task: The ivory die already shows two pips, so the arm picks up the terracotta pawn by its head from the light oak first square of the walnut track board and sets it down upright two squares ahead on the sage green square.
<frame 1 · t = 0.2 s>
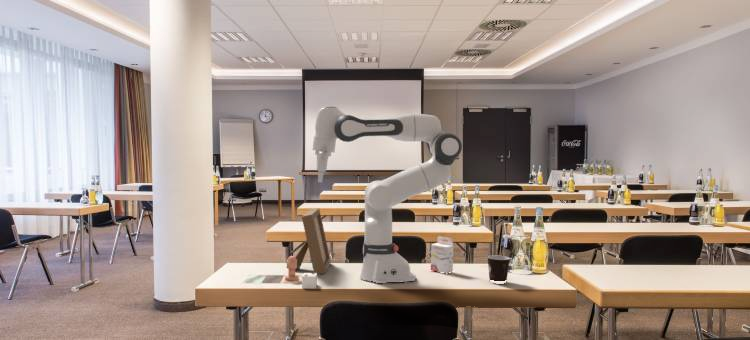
hand: (319, 181, 199), 39 cm above the table, tool pointing down, fingers open, 8 cm apart
ink cartridge box: (441, 272, 214), on the table
photo frame: (310, 269, 214), on the table
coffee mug: (497, 283, 197), on the table
track board: (273, 280, 195), on the table
die: (309, 288, 186), on the table
pawn: (291, 279, 195), resting on track board
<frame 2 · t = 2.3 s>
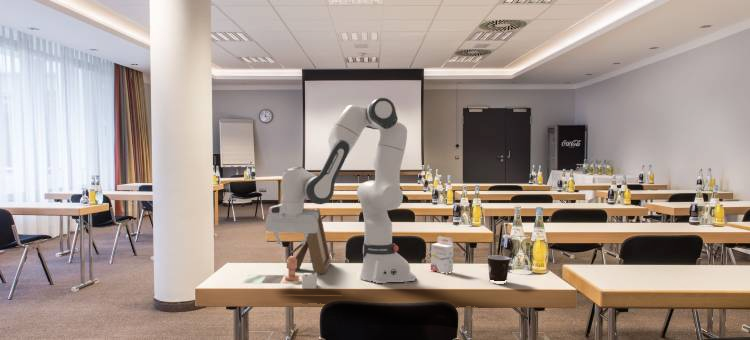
hand: (290, 243, 194), 14 cm above the table, tool pointing down, fingers open, 8 cm apart
nothing on the table moved.
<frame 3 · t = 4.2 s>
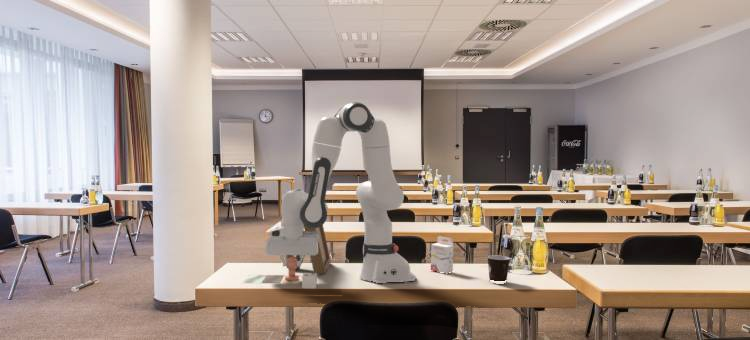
hand: (291, 266, 195), 6 cm above the table, tool pointing down, fingers closed on pawn, 4 cm apart
pawn: (291, 279, 195), point 1 cm above the table, touching gripper, track board
everything else where it was.
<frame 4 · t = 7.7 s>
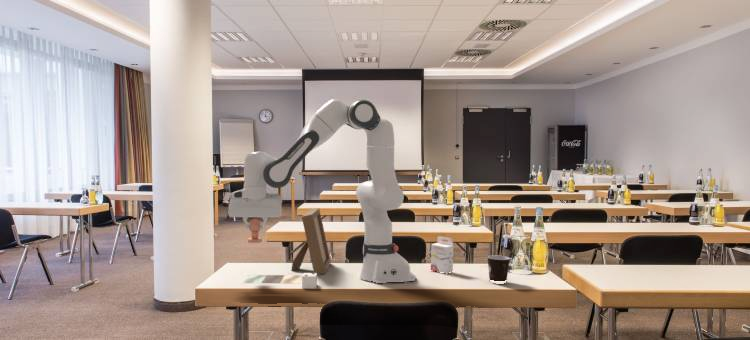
hand: (255, 228, 194), 20 cm above the table, tool pointing down, fingers closed on pawn, 4 cm apart
pawn: (254, 241, 194), point 15 cm above the table, touching gripper
everything else where it was.
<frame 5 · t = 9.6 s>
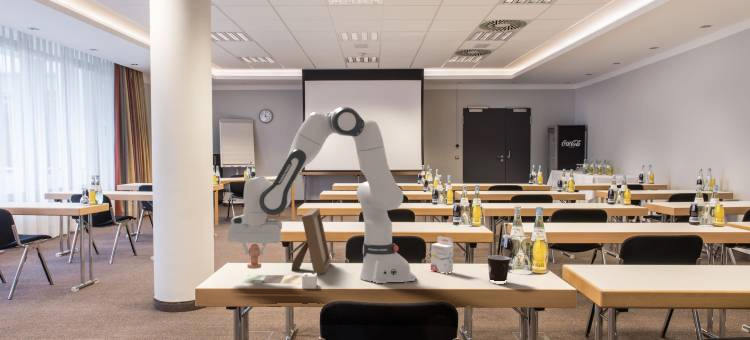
hand: (254, 254, 194), 10 cm above the table, tool pointing down, fingers closed on pawn, 4 cm apart
pawn: (254, 267, 194), point 5 cm above the table, touching gripper
everything else where it was.
when the fingers open (7 cm above the table, at t = 11.3 s): pawn drops 1 cm, resting on track board.
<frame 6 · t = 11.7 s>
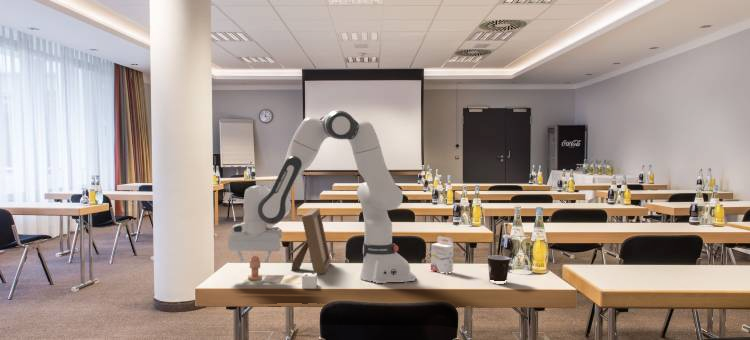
hand: (254, 262, 194), 7 cm above the table, tool pointing down, fingers open, 8 cm apart
pawn: (254, 278, 194), point 1 cm above the table, touching track board
everything else where it was.
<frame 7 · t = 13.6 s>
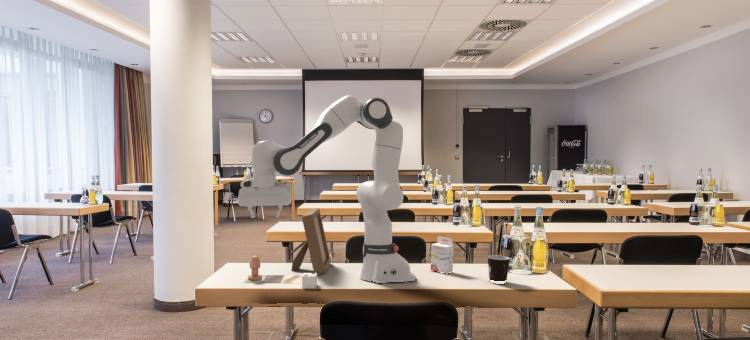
hand: (265, 217, 195), 25 cm above the table, tool pointing down, fingers open, 8 cm apart
nothing on the table moved.
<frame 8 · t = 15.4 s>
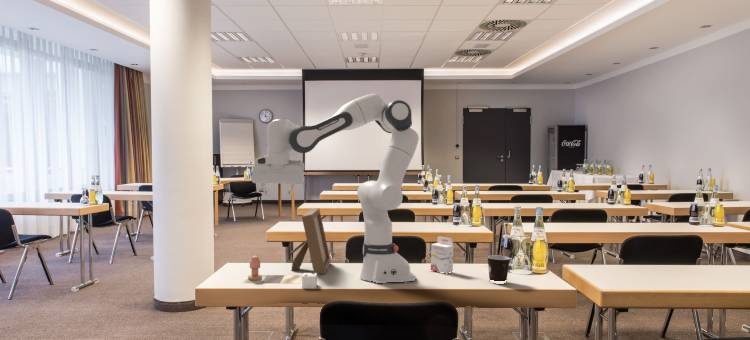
hand: (277, 195, 197), 33 cm above the table, tool pointing down, fingers open, 8 cm apart
nothing on the table moved.
at the end: pawn 0.1 cm from the target spot, point 0.5 cm above the table; pawn tilted 0°; the gripper is holding nothing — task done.
